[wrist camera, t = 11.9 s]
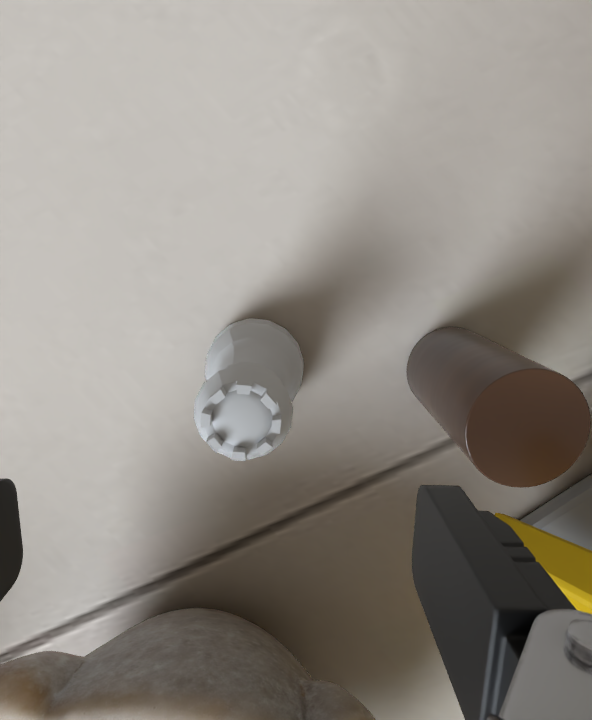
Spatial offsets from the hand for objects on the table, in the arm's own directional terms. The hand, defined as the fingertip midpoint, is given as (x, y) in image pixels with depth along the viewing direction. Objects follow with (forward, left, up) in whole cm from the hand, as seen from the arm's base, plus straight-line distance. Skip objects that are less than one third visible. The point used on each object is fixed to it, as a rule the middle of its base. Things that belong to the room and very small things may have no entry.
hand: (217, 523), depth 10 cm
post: (0, +9, -14) cm, 17 cm away
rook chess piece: (0, 0, -14) cm, 14 cm away
